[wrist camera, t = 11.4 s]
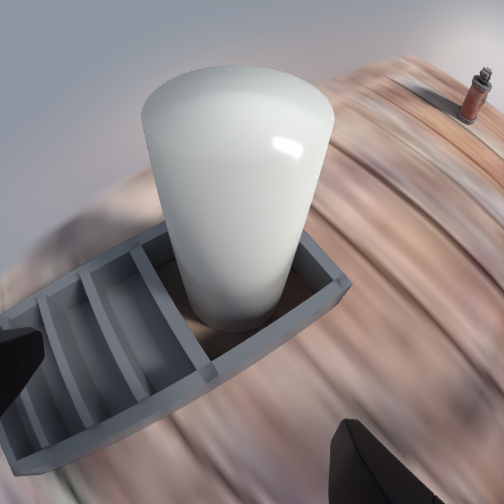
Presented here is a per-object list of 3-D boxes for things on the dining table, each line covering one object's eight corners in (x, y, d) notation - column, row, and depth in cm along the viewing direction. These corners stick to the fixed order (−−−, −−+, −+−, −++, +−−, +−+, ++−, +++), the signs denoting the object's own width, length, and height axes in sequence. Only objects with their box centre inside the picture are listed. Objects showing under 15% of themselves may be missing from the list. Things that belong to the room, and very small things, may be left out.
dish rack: (41, 474, 12) (9, 476, 9) (-4, 349, 16) (-34, 332, 13) (337, 304, 19) (355, 279, 16) (252, 206, 23) (255, 173, 20)
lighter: (470, 128, 36) (495, 78, 27) (453, 115, 37) (476, 65, 28) (477, 116, 39) (498, 73, 30) (462, 105, 40) (481, 61, 32)
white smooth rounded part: (249, 350, 18) (279, 197, 7) (168, 299, 19) (102, 123, 8) (296, 275, 20) (356, 98, 9) (221, 234, 22) (217, 55, 11)
